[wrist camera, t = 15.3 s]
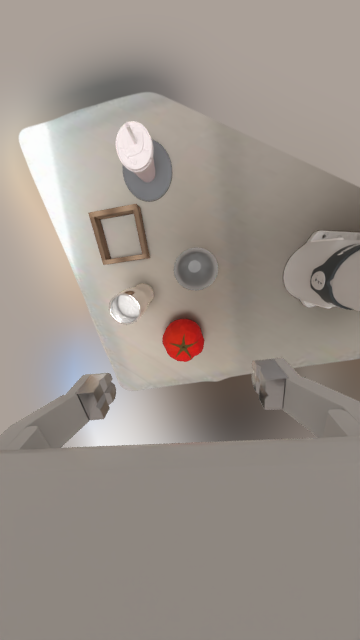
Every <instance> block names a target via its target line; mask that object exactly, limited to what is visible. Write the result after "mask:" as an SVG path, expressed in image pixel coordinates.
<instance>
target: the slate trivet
mask: <svg viewBox="0 0 360 640" xmlns="http://www.w3.org/2000/svg"><path fill="white" fill-rule="evenodd" d="M152 142H153V148H154V150H153V159H154V166H155V177H154V179H153V180H152V181H151V182H144V181H143V180H142V179H141V178H139V177H138V176H137V175H136V174H135V173H134V172H132V171H130V170H128V169H127V168H126V167H125V166H124V165H123V176H124V180H125V183H126V185H127V187H128V188H129V190H130V191H131V192H132V194H133V195H134V196H136V197H137V198H139V199H140V200H143V201H155V200H157V199H159V198H161V197H162V196H163V195H164V194H165V193H166V191H167V190H168V188H169V186H170V183H171V179H172V166H171V161H170V158H169V156H168V154H167V152H166V150H165V149H164V148H163V147H162V145H160V144H159V143H158V142H156V141H154V140H152Z"/></svg>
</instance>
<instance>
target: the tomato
mask: <svg viewBox="0 0 360 640" xmlns="http://www.w3.org/2000/svg"><path fill="white" fill-rule="evenodd" d="M163 345H164V347H165V348H166V351H167V353H168V354H169V356H170V357H172V358H174V359H175V360H177V361H184V362H187V361H189V360H191V359H192V358H193V357H194V356H196V355H198V354H199V353H201V352H202V350H203V345H204V338H203V335H202V333H201V329H200V327H199V325H198V324H197V323H196V322H194V321H192V320H189V319H179V320H175V321H173V322H172V323H170V325H169V326H168V327H167V328H166V331H165V333H164V335H163Z"/></svg>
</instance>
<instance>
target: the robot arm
mask: <svg viewBox="0 0 360 640" xmlns="http://www.w3.org/2000/svg"><path fill="white" fill-rule="evenodd" d="M323 235H324V237H323V238H322V236H323ZM283 279H284V285H285V287H286V289H287V291H288V292H289V293H290V294H291V295H293V296H294V297H296V298H298V299H300V301H301V302H302V304H303V305H304V306H306V307H313V306H321V307H324V308H331V307H339V308H343V309H349V310H357V311H360V233H358V232H338V231H316V232H314V233H313V234H312V235H311V237H310V238H309V240H308V241H307V243H306V244H305V245H303V246H302V247H301V248H299V249H298V250H297V251H296V252H295V253H294V254H293V255H292V256H291V258H290V259H289V261H288V262H287V264H286V267H285V270H284V276H283ZM252 368H253V370H254V372H253V373H252V382H253V386H254V389H255V391H256V392H257V393H258V394H259V399H260V401H261V403H262V405H263V407H264V409H265V410H270V409H271V410H272V409H283V410H284V411H285V412H286V413H287V414H289V415H290V416H291V417H292V418H294V419H295V420H297V421H298V422H299V423H300V424H301V425H303V426H304V427H305V428H307V429H308V430H309V431H310V432H312V433H313V434H314V435H315V436H316V437H318V438H299V439H298V438H297V439H274V440H248V441H225V442H224V441H223V442H196V443H172V444H148V445H122V446H97V447H72V448H61V447H62V446H63V445H64V444H65V443H66V442H67V441H68V440H69V439H71V438H72V437H73V436H74V435H75V434H76V433H77V432H78V431H79V430H80V429H81V428H82V427H83V426H84V425H85V424H86V423H87V422H89V420H98V419H104V418H105V416H106V414H107V412H108V410H109V404H111V403H112V402H113V401H114V399H115V395H116V388H115V385H114V384H113V383H112V382H111V381H112V376H111V374H109V373H101V374H87V375H83V376H82V377H81V378H80V379H79V380H78V381H77V382H76V384H75V385H74V386H73V387H72V388H71V389H70V390H69V391H68V392H67V394H66V395H62V396H60V397H59V398H57V399H55V400H54V401H52V402H50V403H49V404H47V405H45V406H44V407H42V408H40V409H38V410H37V411H35V412H33V413H32V414H30V415H28V416H27V417H25V418H23V419H21V420H20V421H18V422H16V423H15V424H13V425H11V426H10V427H9V428H8V429H7V430H5V431H4V432H3V433H2V434H1V435H0V640H360V402H359V401H357V400H355V399H353V398H350V397H348V396H346V395H343V394H341V393H339V392H337V391H335V390H332V389H330V388H328V387H326V386H323V385H321V384H319V383H316V382H314V381H312V380H310V379H307V378H305V377H300V375H298V373H297V372H296V371H295V370H294V369H293V368H292V367H291V366H290V365H289V364H288V362H287V361H286V360H285V359H284V358H273V359H266V360H255V361H252Z"/></svg>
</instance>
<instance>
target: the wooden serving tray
mask: <svg viewBox="0 0 360 640" xmlns="http://www.w3.org/2000/svg"><path fill="white" fill-rule="evenodd" d="M133 213H134V216H135V221H136V226H137V231H138V236H139V241H140V245H141V250H142V254H141V255H134V256H128V257H122V258H115V259H111V257H110V254H109V250H108V246H107V243H106V239H105V235H104V231H103V228H102V224H101V219H106V218H112V217H117V216H122V215H128V214H133ZM89 216H90V220H91V223H92V227H93V230H94V234H95V237H96V241H97V244H98V248H99V251H100V255H101V258H102V262H103V265H105V264H113V263H119V262H126V261H132V260H139V259H145V258H150V256H149V251H148V246H147V241H146V235H145V230H144V225H143V220H142V215H141V210H140V207H139V206H138V205H137V204H132V205H127V206H122V207H117V208H111V209H106V210H101V211H96V212H90V213H89Z"/></svg>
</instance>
